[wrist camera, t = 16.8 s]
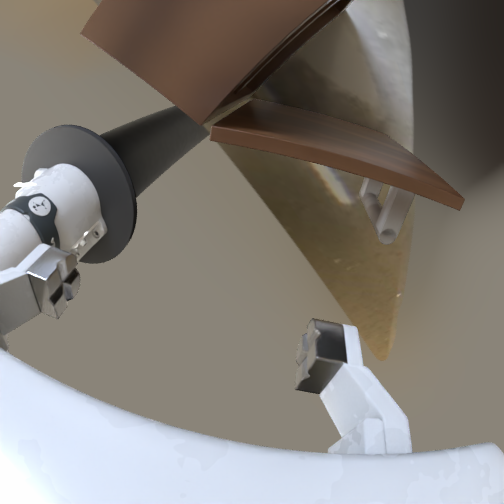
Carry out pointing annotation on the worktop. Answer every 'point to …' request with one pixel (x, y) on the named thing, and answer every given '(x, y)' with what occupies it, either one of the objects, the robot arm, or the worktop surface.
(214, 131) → the cupboard door
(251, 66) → the cupboard
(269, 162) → the worktop surface
